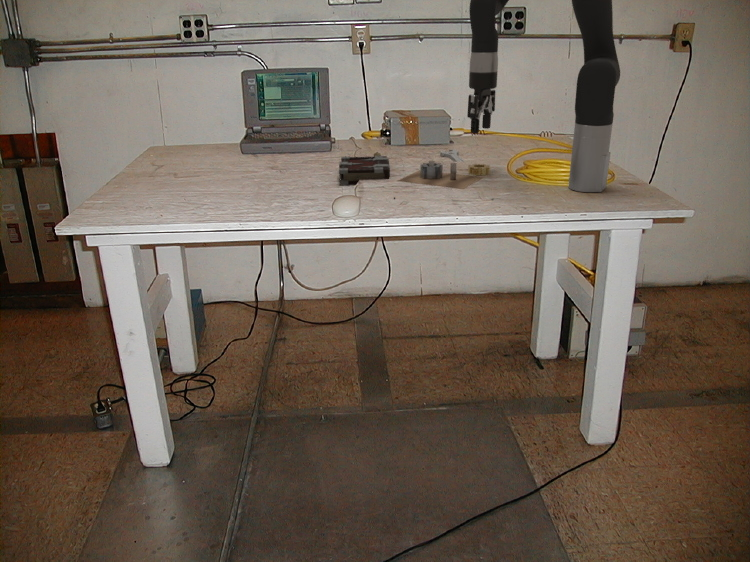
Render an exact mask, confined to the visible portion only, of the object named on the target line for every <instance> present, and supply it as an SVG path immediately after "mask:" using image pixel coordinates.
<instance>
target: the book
mask: <svg viewBox="0 0 750 562" xmlns="http://www.w3.org/2000/svg"><path fill="white" fill-rule="evenodd" d="M338 165H339V167H338V174H339V181H338V182H339V183H338V184H339V186H349V185H357V184H358V183H359V181H360V180H370V179H385V180H390V177H391V166H390V158H389V157H388V156H387V155H385V156H384V155H382V154H381V153H380V152H378V151H376V152H375V153H373V156H341V158H340V161H339V164H338ZM340 179H341V180H340Z"/></svg>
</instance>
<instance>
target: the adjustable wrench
mask: <svg viewBox="0 0 750 562" xmlns="http://www.w3.org/2000/svg"><path fill="white" fill-rule="evenodd" d="M439 155H440V157H441V158H442V157H443V158H448V159H451V161H453V163H456V162H457V163H459V162H461V163H465V162H466V160H464V159H463V158H462V157H460V156H459V150H458V149H454V148H453V149H452V148H450V149H448V151H447V150H444V149H443V150H440V152H439Z"/></svg>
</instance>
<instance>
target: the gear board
mask: <svg viewBox="0 0 750 562" xmlns="http://www.w3.org/2000/svg"><path fill="white" fill-rule="evenodd" d="M428 163H429V166H434V163H435V160H429V161H428ZM449 172H450V173H449ZM449 172H443V174H442V177H440V179H432V180H429V179H422V177H420V169H419V170H417V171H415V172H412V173H411V174H409V175H406V176H404V177H402V178H400V179H398V180H397V182H403V183H411V184H419V185H429V186H434V187H435V186H436V187H444V188H451V189H458V190H465V189H467V188H468V187H470V186H472V185H474V184H475V183H476V182H478V181H480V180H482V179H483V178H484V176H478V175H477V176H474V175H469V174H468V175H466V174H460V173H459V174H458V173H457V163H456V162H451V163H450V171H449Z"/></svg>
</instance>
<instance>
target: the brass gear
mask: <svg viewBox="0 0 750 562" xmlns="http://www.w3.org/2000/svg"><path fill="white" fill-rule="evenodd" d="M490 166H491V165H489V164H485V163H473V164H468V167H467V168H468V169H467V172H468V173H467V174H468V175H471V176H477V177H478V176H480V177H484V176H486V175H490V172H491V171H490V170H491V167H490Z"/></svg>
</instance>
